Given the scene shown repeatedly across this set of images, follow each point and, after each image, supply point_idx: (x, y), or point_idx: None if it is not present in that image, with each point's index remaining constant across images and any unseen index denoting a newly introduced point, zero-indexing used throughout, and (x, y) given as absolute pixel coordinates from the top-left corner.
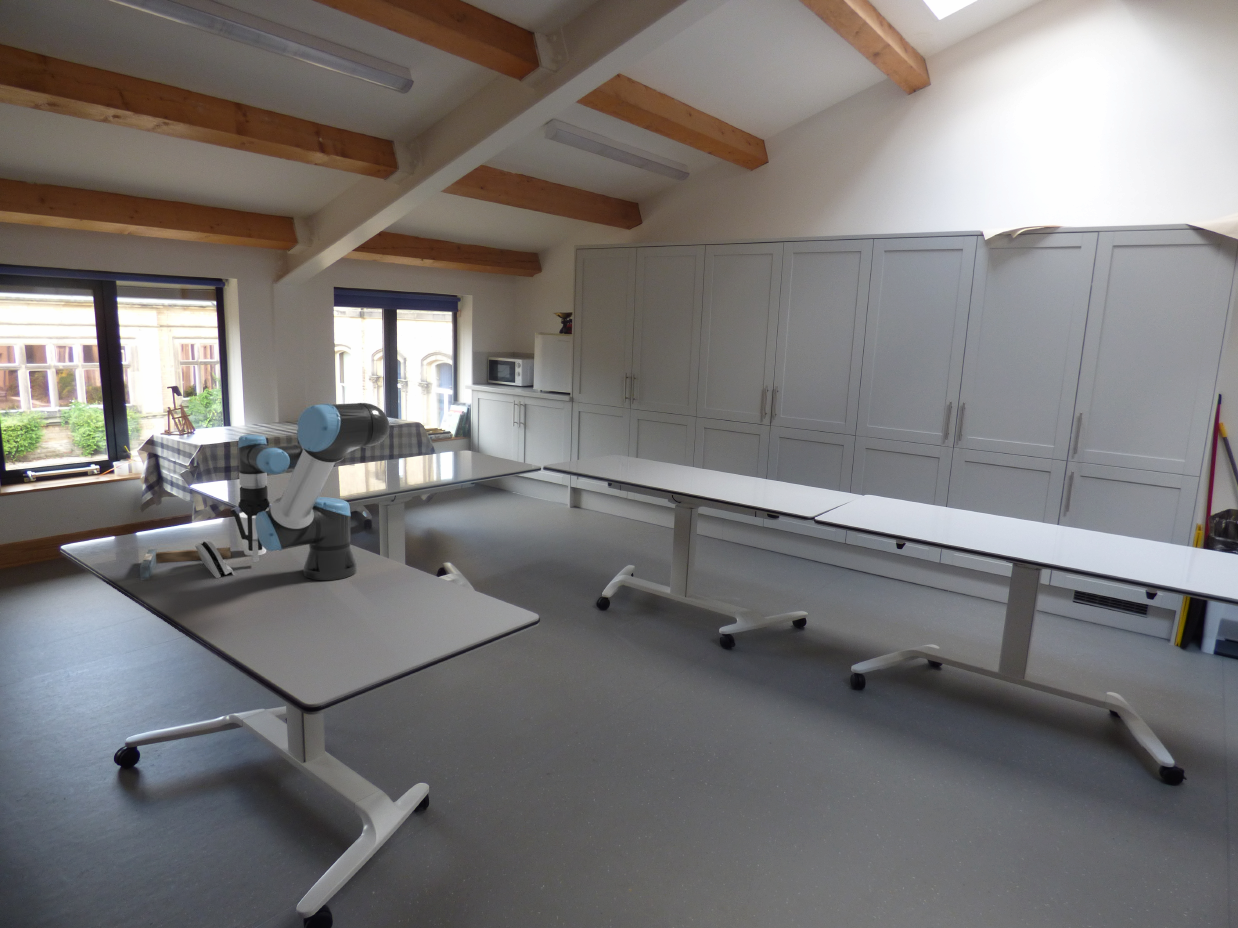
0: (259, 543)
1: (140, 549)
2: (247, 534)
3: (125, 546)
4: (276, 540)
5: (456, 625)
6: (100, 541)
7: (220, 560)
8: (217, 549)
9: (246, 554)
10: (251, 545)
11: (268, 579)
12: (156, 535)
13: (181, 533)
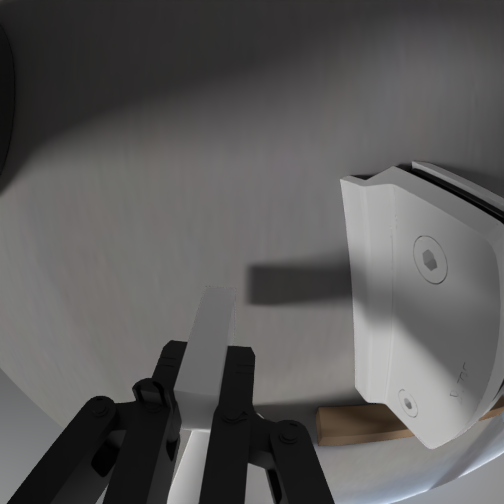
0: (171, 378)
1: (465, 449)
2: (252, 486)
3: (471, 457)
4: None
5: None
6: (478, 466)
7: (457, 207)
8: (365, 434)
9: (262, 417)
10: (230, 376)
11: (159, 33)
12: (407, 492)
13: (369, 500)
